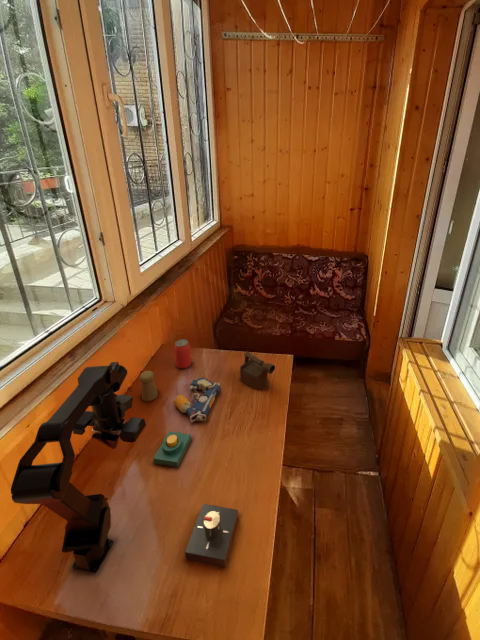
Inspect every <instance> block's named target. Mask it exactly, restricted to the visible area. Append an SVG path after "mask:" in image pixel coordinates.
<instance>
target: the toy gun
mask: <svg viewBox="0 0 480 640" xmlns="http://www.w3.org/2000/svg"><path fill="white" fill-rule="evenodd" d="M189 390H193V392H194V393H193V399H192V404H191V402H190V401H189V400H188V398H186V396H185V395H184V394H179V395H177V396H176V397H175V398H174V400H173V405H175V407H176V408H177V409H178V410H179V411H180V412H181V413H182V414H187V416H188V417H189V422H190V423H193V422H196V421H198V422H201V421H202V422H206V421H207V417H208V414H209V412H210V410H211V408H212V407H213V406H212V405H213V404H214V402H215V399H216V398H217V396H218V395H219V393H220V391H221V384H220V383H219V382H218V383H217V381H214V382H211V381H210V380H208V379H207V378H206V377H205V376H204V377H200V378H195V379H193V380H192V381H191V382H190V384H189ZM197 390H199V391H200V390H202V394H200V392H199V391H197Z"/></svg>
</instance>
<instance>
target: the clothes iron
mask: <svg viewBox="0 0 480 640" xmlns="http://www.w3.org/2000/svg"><path fill="white" fill-rule="evenodd" d="M275 370H276V366H275V364H272V363H270V362H269V363H268V362H265V361H264V360H263V359H260V358H259V357H257V356H256V355H253V354H252V353H250V352H249V351H245V353H244V363H243V364H241V365H240V367H239V371H240V372H239V376H240V378H239V379H240V380H241V382H242V383H244V384H246V385H248V386H249V387H251V388H253V389H257V390H267V389H268V388H269V382H268V374H269V375H272V374H273V373H274V371H275Z"/></svg>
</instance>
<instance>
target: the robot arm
mask: <svg viewBox="0 0 480 640" xmlns="http://www.w3.org/2000/svg"><path fill="white" fill-rule="evenodd" d="M127 376H128V370H127V368H126V367H125V366H123V365H121V364H119V361H111V362H110V364H107V365H93V366H86V367H84V369H82V371H81V372H80V374H79V376H78V377H77V386H76V387H75V388H74V389H73V390H72V392H71V393H70V394H69V396H68V397H67V398H66V399H65V400H64V401H63V402H62V404H61V405H60V406H59V407H58V408H57V410H56V411H55V412H54V413H53V414H52V415H51V417H50V418H48V420H47V421H45V422H43V423H41V424H40V426H39V427H38V429H37V432H36V436H35V439H34V442H33V443H32V444H31V446H29V447H28V449H27V450H26V451H25V452H24V454H23V455H22V456H21V457H20V459H19V461H18V464H17V467H16V470H15V473H14V477H13V480H12V483H11V486H10V494H11V499H12V501H13V503H15V504H21V505H42V506H44V507H46V508H47V509H48V510H50V511H52V512H53V513H54V514H56V515H58V516H59V517H60V518H62V519H64V520H65V521H66V523H65V526H64V537H63V542H62V548H61V552H62V553H64V554H68V553H70V552H72V554H73V555H72V556H73V557H74V562H73V563H72V566H71V567H72V569H73V570H77V571H81V572H86V573H91V574H96V573H98V571H99V570H100V568H101V566H102V565H103V563H104V561H105V559H106V557H107V555H108V553H109V552H110V550H111V548H112V546H113V544H114V539H111V538H108V537H109V532H110V530H111V527H112V521H111V520H112V517H111V507H110V505H109V502H108V497H105V495H104V494H102V493H95V494H84V493H83V492H82V491H80V490H79V488H77V487H76V486H75V485H74V484H72V483H71V482H70V480H71V478H72V475H73V471H72V470H73V467H74V463H75V458H76V453H75V451H74V448H73V444H72V441H71V438H72V434H73V435H78V436H83V435H84V434H85V433H86V428H87V427H92V429H91V432H92V433H93V434H92V435H91V438H92V439H94V440H96V441H98V442H100V443H102V444H104V445H105V446H106V447H108V448H110V449H112V450H115V449H117V447H118V444H119V441H120V440H121V442H123V443H124V442H125V443H132V444H133V443H135V442H136V441H137V440H138V438H139V437H140V435H141V433H142V432H144V431H143V430H144V429H145V428H146V426H147V424H146V419H145V418H142V417H134V416H133V417H132V416H131V417H130V418H129V420H128V421H127V419H126V418H124V417H125V416H126V412H127V411H129V410H130V409H132V408H133V399H134V397H133V395H130V394H129V395H127V394H117V392H119V391H120V389H121V387H122V386H123V383H124V381H125V379H126V377H127ZM89 407H91V410H88V408H89ZM47 443H48V444H49V443H59V447H60V450H61V455H62V461H61V462H53V463H42V464H33V462H34V460H35V459H36V458H37V457H38V455H39V454H40V453H41V452H42V450H43V449H44V448H45V446H46V445H47Z"/></svg>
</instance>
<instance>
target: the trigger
mask: <svg viewBox="0 0 480 640" xmlns="http://www.w3.org/2000/svg"><path fill="white" fill-rule="evenodd" d="M176 444H177V436H176V435H170V436H169V437H168V438H167V446H168V447H174V446H175V445H176Z"/></svg>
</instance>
